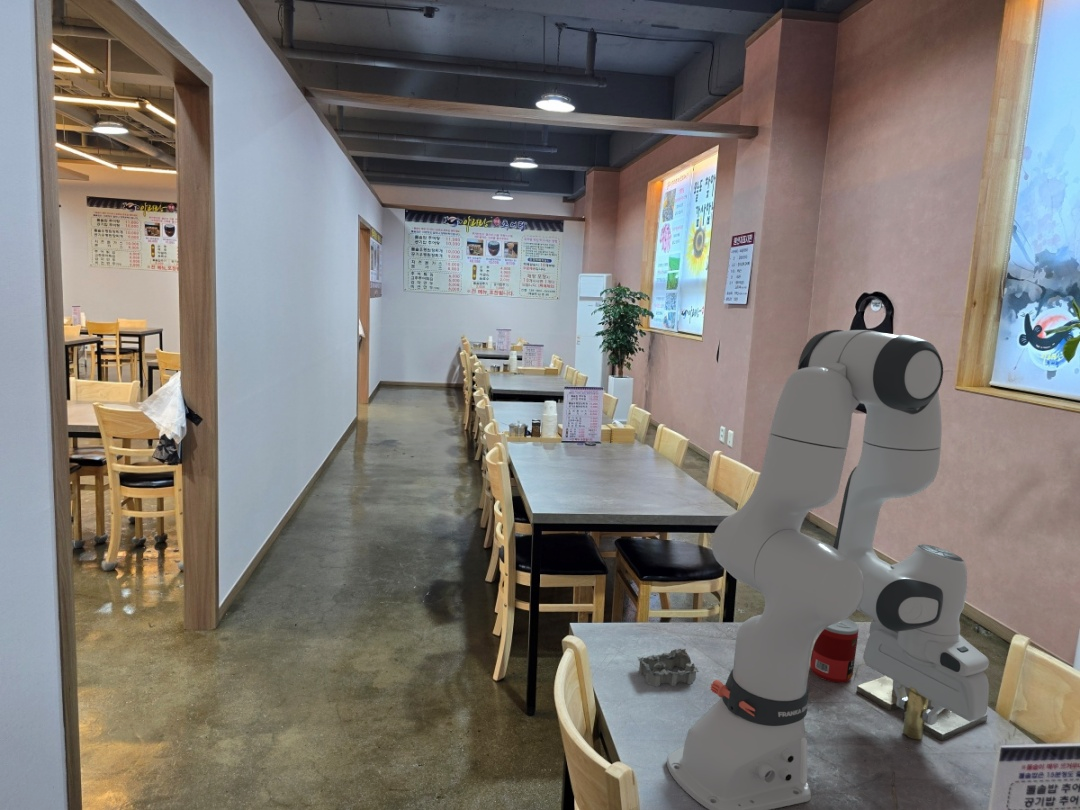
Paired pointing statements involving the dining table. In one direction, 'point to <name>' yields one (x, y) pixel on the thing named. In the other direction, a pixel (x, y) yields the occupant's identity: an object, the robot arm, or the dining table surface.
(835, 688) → the dining table surface
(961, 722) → the silver plate with socket
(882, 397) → the robot arm
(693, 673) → the egg carton
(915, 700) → the hinge pin
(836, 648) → the canned food
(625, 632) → the dining table surface
